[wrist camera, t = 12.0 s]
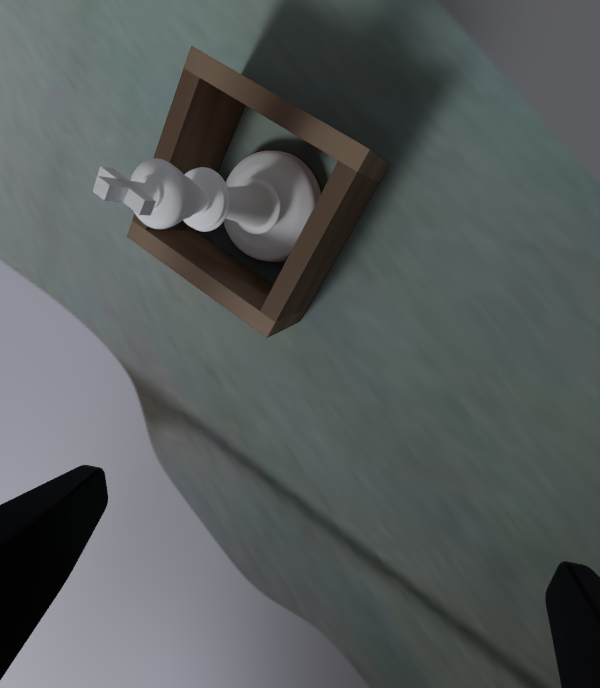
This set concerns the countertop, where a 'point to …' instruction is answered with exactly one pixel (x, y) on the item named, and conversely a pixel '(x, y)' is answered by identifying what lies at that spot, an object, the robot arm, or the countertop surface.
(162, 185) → the chess piece
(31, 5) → the countertop surface
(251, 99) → the walnut collar
